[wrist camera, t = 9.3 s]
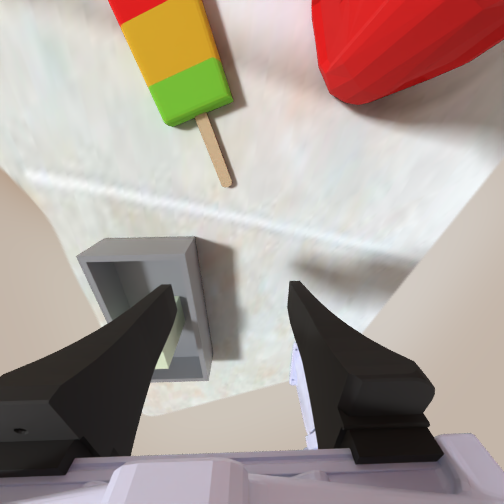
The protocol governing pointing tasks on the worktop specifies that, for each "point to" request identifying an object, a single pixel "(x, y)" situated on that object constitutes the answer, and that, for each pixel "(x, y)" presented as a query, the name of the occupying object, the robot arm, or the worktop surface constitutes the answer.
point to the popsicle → (178, 63)
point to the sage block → (172, 338)
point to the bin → (145, 281)
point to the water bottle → (398, 42)
